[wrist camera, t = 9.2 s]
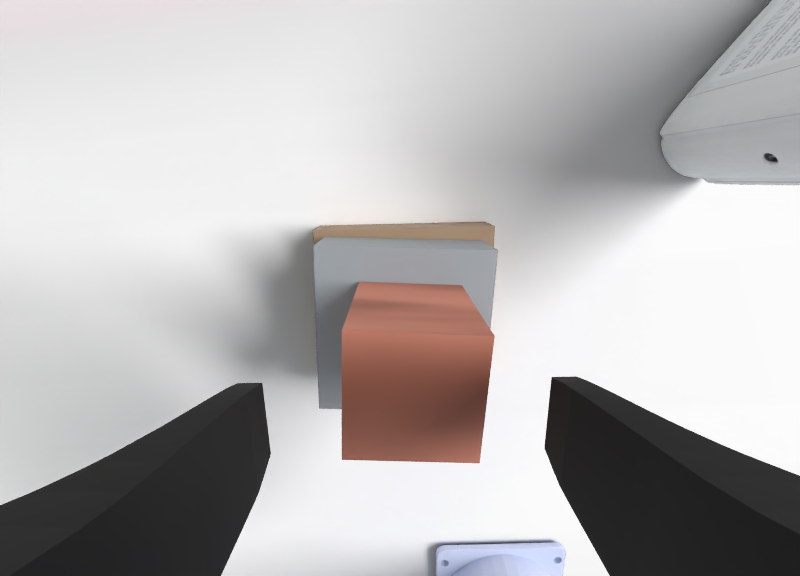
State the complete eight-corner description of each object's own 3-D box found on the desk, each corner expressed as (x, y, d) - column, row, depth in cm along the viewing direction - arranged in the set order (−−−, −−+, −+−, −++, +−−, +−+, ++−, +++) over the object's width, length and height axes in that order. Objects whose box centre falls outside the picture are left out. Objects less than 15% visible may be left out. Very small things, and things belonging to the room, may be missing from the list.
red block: (453, 377, 16) (479, 463, 11) (358, 374, 16) (341, 459, 11) (462, 285, 15) (494, 335, 10) (359, 281, 15) (341, 331, 10)
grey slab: (470, 381, 19) (482, 410, 16) (328, 379, 19) (319, 408, 16) (483, 240, 17) (498, 250, 14) (324, 236, 17) (313, 245, 14)
